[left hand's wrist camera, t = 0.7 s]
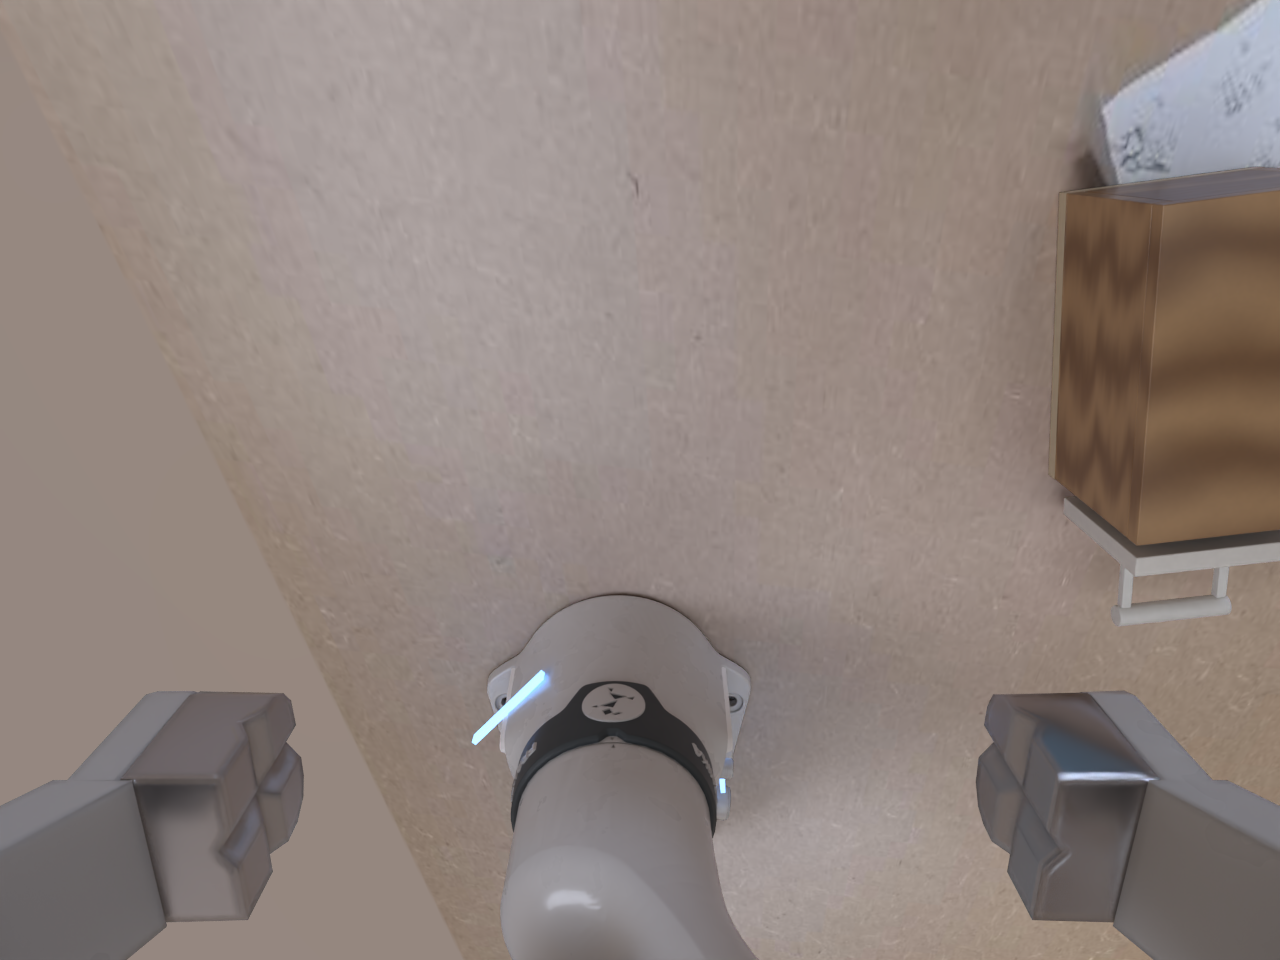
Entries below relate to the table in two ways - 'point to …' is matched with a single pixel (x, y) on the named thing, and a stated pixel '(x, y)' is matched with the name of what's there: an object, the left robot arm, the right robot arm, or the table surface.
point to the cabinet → (1170, 354)
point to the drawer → (1172, 565)
